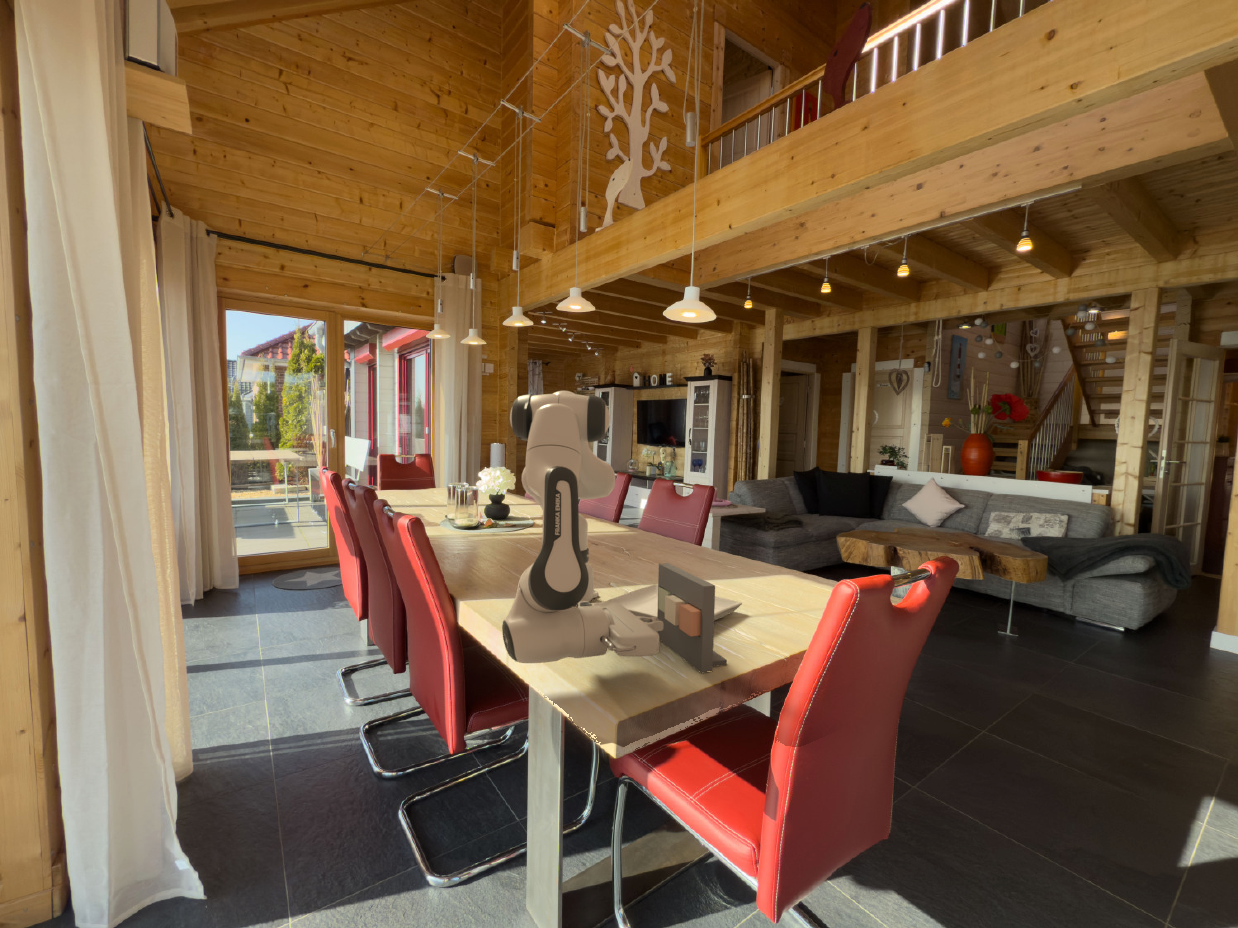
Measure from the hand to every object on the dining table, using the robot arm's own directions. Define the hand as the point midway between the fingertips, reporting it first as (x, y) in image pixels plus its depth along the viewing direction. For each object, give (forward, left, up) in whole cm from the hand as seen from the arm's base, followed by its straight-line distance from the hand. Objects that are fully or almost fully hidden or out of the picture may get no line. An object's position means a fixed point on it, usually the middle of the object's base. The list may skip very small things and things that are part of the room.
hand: (660, 623), depth 107 cm
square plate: (-31, +18, -10) cm, 37 cm away
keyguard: (-7, +11, -9) cm, 16 cm away
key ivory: (-7, +7, -2) cm, 10 cm away
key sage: (-13, +9, -2) cm, 16 cm away
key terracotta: (0, +7, -2) cm, 8 cm away
